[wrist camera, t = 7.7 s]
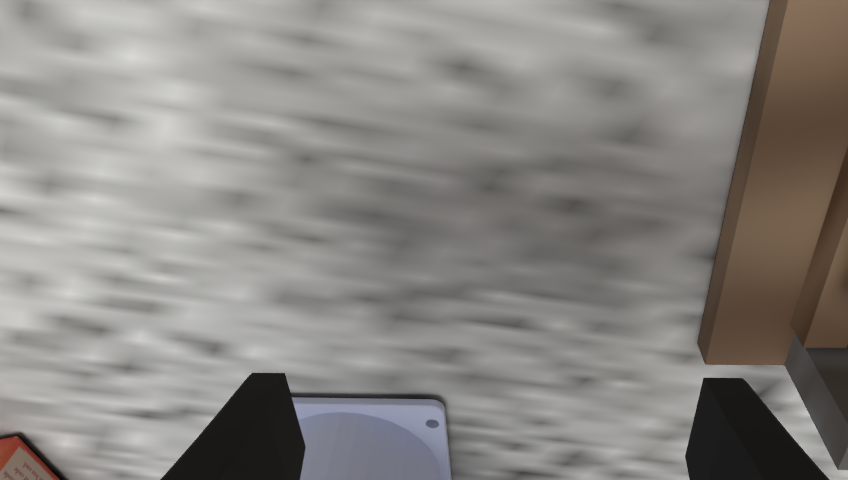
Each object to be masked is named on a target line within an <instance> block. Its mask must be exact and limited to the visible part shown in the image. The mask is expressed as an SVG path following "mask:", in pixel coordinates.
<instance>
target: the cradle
mask: <svg viewBox="0 0 848 480" xmlns="http://www.w3.org/2000/svg"><path fill="white" fill-rule="evenodd" d="M698 346H699V349H700V352H701V354H702V357H703V360H704V363H705V364H712V365H785V367H786V369H787V371H788V373H789V375H790V377H791V379H792V381H793V383H794V384H795V386H796V388H797V390H798V392H799V394H800V396H801V398H802V400H803V402H804V404H805V406H806V408H807V410H808V412H809V414H810V416H811V418H812V420H813V422H814V424H815V426H816V428H817V430H818V432H819V434H820V436H821V438H822V440H823V442H824V444H825V446H826V448H827V450H828V452H829V454H830V456H831V458H832V459H833V461H834V463H835V465H836V467H837V469H838V470H848V0H771V1H770V5H769V10H768V15H767V20H766V24H765V29H764V34H763V38H762V43H761V48H760V52H759V57H758V62H757V66H756V71H755V76H754V81H753V85H752V90H751V95H750V99H749V104H748V109H747V113H746V118H745V123H744V128H743V132H742V137H741V142H740V146H739V151H738V156H737V160H736V165H735V170H734V174H733V179H732V184H731V189H730V193H729V198H728V203H727V207H726V212H725V217H724V221H723V226H722V231H721V236H720V240H719V245H718V250H717V254H716V259H715V264H714V268H713V273H712V278H711V283H710V287H709V292H708V297H707V301H706V306H705V311H704V315H703V320H702V325H701V329H700V334H699V339H698Z"/></svg>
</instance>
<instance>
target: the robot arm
mask: <svg viewBox="0 0 848 480" xmlns="http://www.w3.org/2000/svg"><path fill="white" fill-rule="evenodd" d="M430 419H433V420H430ZM685 457H686V462H687V468H688V473H689V478H690V480H829V479H828V478H827V477H826V475H825V474H824V473H823V472H822V471H821V470H820V469H819V468H818V467H817V465H816V464H815V463H814V462H813V461H812V460H811V459H810V457H809V456H808V455H807V454H806V453H805V452H804V450H803V449H802V448H801V447H800V446H799V445H798V443H797V442H796V441H795V440H794V439H793V438H792V436H791V435H790V434H789V433H788V432H787V430H786V429H785V428H784V427H783V426H782V424H781V423H780V422H779V421H778V420H777V418H776V417H775V416H774V415H773V414H772V412H771V411H770V410H769V409H768V408H767V406H766V405H765V404H764V403H763V401H762V400H761V399H760V398H759V396H758V395H757V394H756V393H755V392H754V390H753V389H752V388H751V387H750V385H749V384H748V383H747V382H746V381H745V380H744V379H743V378H704V379H703V383H702V387H701V392H700V396H699V400H698V404H697V409H696V413H695V417H694V422H693V426H692V430H691V434H690V439H689V443H688V447H687V451H686V456H685ZM161 480H452V477H451V466H450V456H449V446H448V436H447V425H446V415H445V407H444V405H443V404H442V403H441V402H439V401H437V400H433V399H372V398H300V397H291V393H290V390H289V387H288V383H287V380H286V376H285V373H252V374H251V375H250V376H249V377H248V378H247V379H246V380H245V381H244V383H243V384H242V385H241V386H240V387H239V389H238V390H237V391H236V392H235V393H234V395H233V396H232V397H231V398H230V399H229V401H228V402H227V403H226V404H225V405H224V407H223V408H222V409H221V410H220V412H219V413H218V414H217V415H216V416H215V418H214V419H213V420H212V421H211V422H210V423H209V425H208V426H207V427H206V428H205V429H204V431H203V432H202V433H201V434H200V435H199V437H198V438H197V439H196V440H195V441H194V442H193V443H192V445H191V446H190V447H189V448H188V449H187V450H186V451H185V453H184V454H183V455H182V456H181V457H180V458H179V459H178V461H177V462H176V463H175V464H174V465H173V466H172V467H171V468H170V470H169V471H168V472H167V473H166V474H165V475H164V476H163V477H162V479H161Z"/></svg>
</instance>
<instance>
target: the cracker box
mask: <svg viewBox="0 0 848 480" xmlns="http://www.w3.org/2000/svg"><path fill="white" fill-rule="evenodd" d="M0 480H60V479H59V478H58V477H57V476H56V475H55V474H54V473H53V472H52V471H51V470H50V469H49V468H48V467H47V466H46V465H45V464H44V463H43V462H42V461H41V460H40V459H39V458H38V457H37V456H36V455H35V454H34V453H33V452H32V451H31V450H30V449H29V448H28V447H27V445H26V444H25V443H24V442H23V441H22V440H21V439H20V438H19V437H17V436H14V437H11V438H4V439H0Z"/></svg>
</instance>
